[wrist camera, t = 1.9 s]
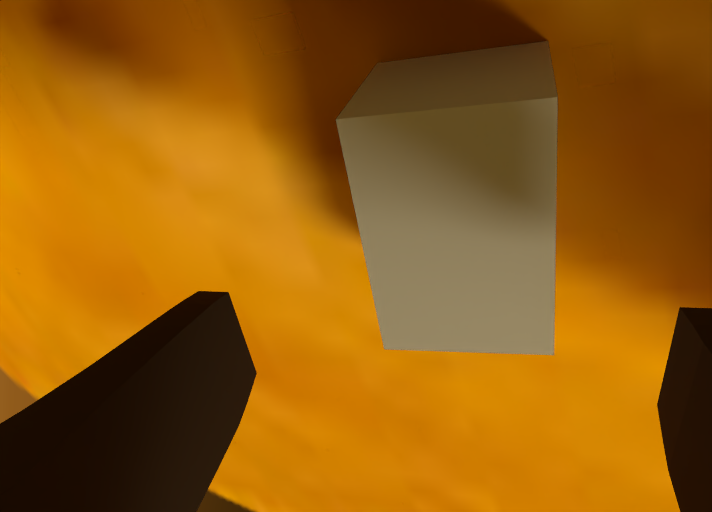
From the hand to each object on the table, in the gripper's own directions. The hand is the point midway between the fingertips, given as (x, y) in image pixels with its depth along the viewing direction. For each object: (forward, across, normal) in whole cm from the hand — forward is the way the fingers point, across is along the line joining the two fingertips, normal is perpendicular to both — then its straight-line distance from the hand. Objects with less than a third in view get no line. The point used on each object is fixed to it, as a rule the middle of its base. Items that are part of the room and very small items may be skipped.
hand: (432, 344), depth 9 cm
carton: (+7, 0, 0) cm, 7 cm away
